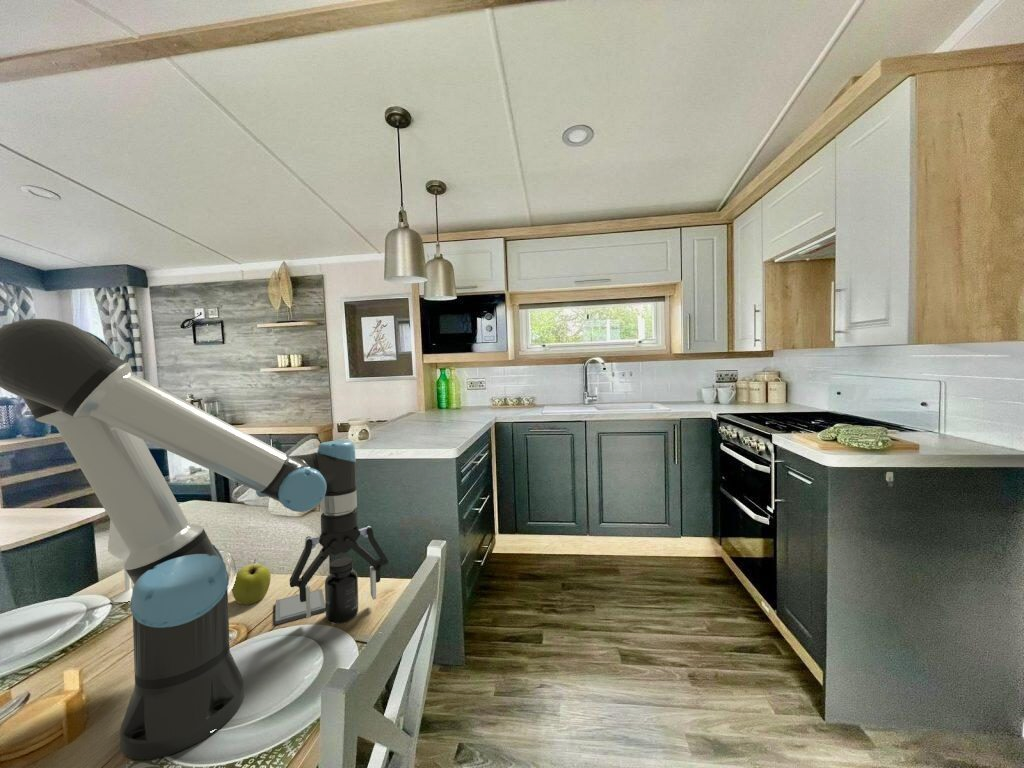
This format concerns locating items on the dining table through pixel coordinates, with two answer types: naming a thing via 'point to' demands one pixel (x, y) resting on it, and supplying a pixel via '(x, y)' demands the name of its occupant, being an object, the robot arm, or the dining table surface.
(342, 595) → the supplement bottle
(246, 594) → the apple
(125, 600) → the champagne flute
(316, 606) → the slate coaster
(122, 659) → the dining table surface
